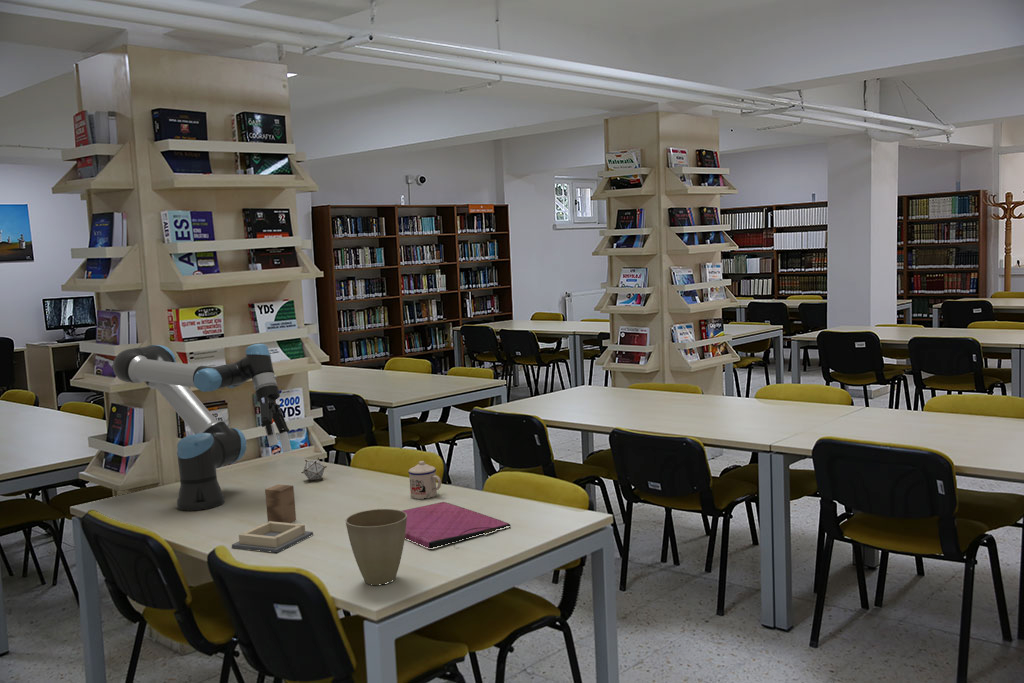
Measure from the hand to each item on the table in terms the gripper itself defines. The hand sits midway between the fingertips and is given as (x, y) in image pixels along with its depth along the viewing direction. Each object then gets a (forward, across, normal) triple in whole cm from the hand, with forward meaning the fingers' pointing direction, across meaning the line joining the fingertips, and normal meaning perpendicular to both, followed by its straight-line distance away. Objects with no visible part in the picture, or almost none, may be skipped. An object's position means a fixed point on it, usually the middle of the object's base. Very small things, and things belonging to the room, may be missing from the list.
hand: (280, 448), depth 289 cm
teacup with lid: (+29, +10, -40) cm, 51 cm away
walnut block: (+26, -12, +2) cm, 28 cm away
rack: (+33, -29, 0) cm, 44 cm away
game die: (+7, +36, +1) cm, 37 cm away
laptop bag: (+44, -21, -46) cm, 67 cm away
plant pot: (+55, -60, -33) cm, 88 cm away
